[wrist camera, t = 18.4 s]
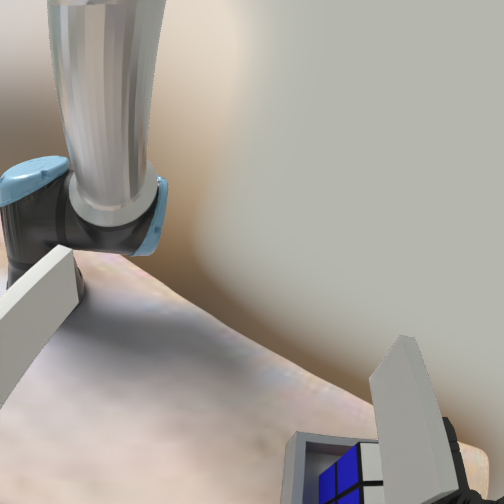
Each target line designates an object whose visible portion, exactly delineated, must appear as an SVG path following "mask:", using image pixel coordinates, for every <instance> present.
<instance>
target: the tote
mask: <svg viewBox="0 0 504 504" xmlns="http://www.w3.org/2000/svg"><path fill="white" fill-rule="evenodd" d="M357 442H379V440H371V439H357V438H345V437H335V436H327V435H319V434H311V433H304V432H298V431H297V432H296V433H295V434H294V435H293V437H292V438H291V439H290V441H289V442H288V443H287V444H286V453H285V464H284V474H283V483H282V493H281V502H280V504H318V503H319V475H320V474H321V473H323V472H324V471H325V470H326V469H328V468H329V467H330V466H331V465H332V464H334V463H335V462H336V461H337V460H338V459H339V458H341V457H342V456H343V455H344V454H345V453H346V452H347V451H349V450H350V449H351V448H352V447H353V446H354V445H355V444H356V443H357Z"/></svg>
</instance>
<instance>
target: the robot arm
mask: <svg viewBox="0 0 504 504" xmlns="http://www.w3.org/2000/svg"><path fill="white" fill-rule="evenodd" d="M165 3H166V0H47V5H48V6H47V7H48V25H49V39H50V49H51V57H52V66H53V73H54V80H55V87H56V93H57V99H58V104H59V110H60V114H61V119H62V124H63V129H64V134H65V138H66V142H67V146H68V151H69V155H70V158H71V162H72V166H73V170H70V169H69V168H70V163H69V160H68V159H67V158H66V157H62V156H47V157H41V158H36V159H32V160H29V161H26V162H23V163H20V164H18V165H16V166H14V167H12V168H10V169H9V170H7V171H6V172H5V173H4V174H3V175H2V177H1V178H0V214H1V222H2V228H3V235H4V241H5V246H6V251H7V256H8V262H9V264H8V281H7V288H6V290H7V291H6V292H5V293H4V294H3V295H2V296H1V297H0V409H1V407H2V406H3V404H4V403H5V401H6V400H7V398H8V397H9V395H10V394H11V392H12V391H13V389H14V388H15V386H16V385H17V383H18V382H19V380H20V379H21V378H22V376H23V375H24V373H25V372H26V371H27V369H28V368H29V366H30V365H31V364H32V362H33V361H34V359H35V358H36V357H37V355H38V354H39V353H40V351H41V350H42V349H43V347H44V346H45V345H46V343H47V342H48V341H49V339H50V338H51V337H52V335H53V334H54V333H55V332H56V330H57V329H58V328H59V327H60V325H61V324H62V323H63V322H64V320H65V319H66V318H67V317H68V315H69V314H70V313H71V312H72V311H73V310H74V309H75V308H76V307H77V306H78V305H79V304H80V302H81V301H82V299H83V296H84V281H83V276H82V273H81V271H80V269H79V268H78V267H77V264H76V261H75V258H74V256H73V250H83V251H93V252H103V253H114V254H124V255H128V256H135V255H142V256H147V255H150V254H152V253H153V252H154V251H155V250H156V248H157V245H158V243H159V239H160V235H161V227H162V225H163V221H164V216H165V210H166V203H167V195H168V183H167V181H166V179H165V178H163V177H160V176H158V175H156V172H155V169H154V167H153V166H152V164H151V163H150V162H149V161H148V160H147V144H148V130H149V118H150V106H151V97H152V87H153V78H154V71H155V63H156V56H157V49H158V43H159V37H160V30H161V25H162V19H163V14H164V9H165ZM369 382H370V387H371V394H372V400H373V406H374V412H375V419H376V426H377V433H378V440H379V448H380V456H381V465H382V474H383V484H384V496H385V504H504V496H503V497H502V498H500V499H498V500H497V501H492V500H484V499H482V497H481V495H480V494H479V493H478V492H477V491H475V490H470V489H469V486H468V482H467V477H466V473H465V468H464V464H463V460H462V456H461V452H459V450H460V448H459V444H458V443H457V437H456V433H455V430H454V427H453V426H452V424H451V423H450V421H449V419H448V418H447V417H441V413H440V410H439V406H438V403H437V400H436V396H435V393H434V390H433V387H432V384H431V381H430V378H429V375H428V372H427V370H426V366H425V364H424V361H423V358H422V355H421V352H420V350H419V347H418V344H417V342H416V339H415V338H414V337H408V336H403V335H400V336H399V337H398V339H397V340H396V342H395V343H394V345H393V346H392V347H391V349H390V350H389V352H388V353H387V355H386V356H385V357H384V359H383V360H382V362H381V363H380V364H379V366H378V367H377V368H376V370H375V371H374V372H373V374H372V375H371V376H370V378H369Z"/></svg>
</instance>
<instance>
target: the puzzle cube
mask: <svg viewBox="0 0 504 504" xmlns="http://www.w3.org/2000/svg"><path fill="white" fill-rule="evenodd" d="M318 504H385V496H384V484H383V474H382V465H381V456H380V448H379V442H357V443H356V444H355V445H354V446H353V447H352V448H351V449H350V450H349V451H347V452H346V453H345V454H344V455H343V456H342V457H341V458H339V459H338V460H337V461H336V462H335V463H334V464H332V465H331V466H330V467H329V468H328V469H326V470H325V471H324V472H323V473H321V474H320V475H319V503H318Z"/></svg>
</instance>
